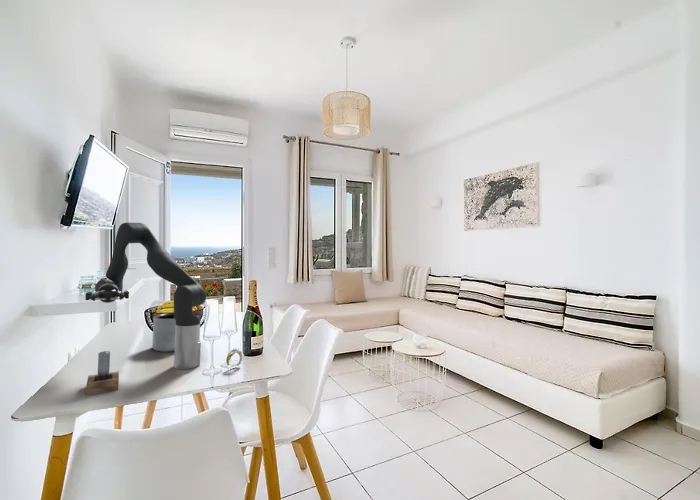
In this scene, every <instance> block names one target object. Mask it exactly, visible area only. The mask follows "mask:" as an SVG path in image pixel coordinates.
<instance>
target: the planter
mask: <svg viewBox="0 0 700 500" xmlns="http://www.w3.org/2000/svg"><path fill="white" fill-rule="evenodd" d="M175 326H176V321H175V318H174V312H166V313H165V312H164V313H159V314H156V315H154V316H153V325H152V327H153V328H152V342H151V343H152V345H151V347H152V349H153V350H154V351H156V352H161V353H162V352H163V353H165V352H166V353H167V352H174V351H175Z"/></svg>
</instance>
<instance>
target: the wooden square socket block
mask: <svg viewBox="0 0 700 500" xmlns="http://www.w3.org/2000/svg"><path fill="white" fill-rule="evenodd" d="M119 372H120V371H113V372H112V371H111V372H110V371H109V379H106V380H100V381H97V378H98V373H95V374H91V375H88V376H87V381H86V390H85V391H86V392H85V396H91V395H95V394H100V393H107V392H113V391H119V385H120V383H119V382H120V381H119V380H120V378H119V377H120V376H119V375H120V373H119Z"/></svg>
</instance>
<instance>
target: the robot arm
mask: <svg viewBox="0 0 700 500" xmlns="http://www.w3.org/2000/svg"><path fill="white" fill-rule="evenodd" d="M129 244H140V245H141V246H143V247H144V248H145V250H146V251H147V253H146V262H147V265H148V266H149V268H151V270H152V271H153V272H154V273H155V274H156V275H157V276H158V277H159V278H161V279H163V280H165V281H167V282H169V283H170V284H173V285H175V286H176V289H175V290H174V294H173V313H174V318H175V321H176V326H175V351H173V352H174V356H173V359H174V360H173V368H175V369H177V370H188V369H194V368H196V367H200V366H201V348H202V347H201V343H202V342H201V340H200V339H201V337H200V336H201V316H200V315H199V314H198V315H197V314H194V313H193V311H194V310H193V308H194V307H199V306H201V305H203V304H204V303H205V302H206V299H207V293H206V290H205V289H204V287H203V286H202V285H201V284H200V283H199V282H198V281H197V280H195V279H194V278H193V277H192V276H190V274H188V273H187V272H186V270H185V269H183V267H182V266H181V265H180V264H179V263H178V262H177V260H175V258H174V257H173V256H172V255H171V254H170V253H169V252H168V251H167V250H166V249H165V247H164V246H163V245H162V244H161V243H160V241H158V239H157V238H156V236H155V235H154V233H153V232H152V231H151V229H150V228H149V227H148V226H147V224H145V223H142V222H123V223H120V225H119V227H118V229H117V232H116V236H115V241H114V246H113V250H112V251H113V252H112V256H111V260H110V262H109V265H108V267H107V270H106V272H105V277H106V279H104V278H103V279H100V280H98V281H97V282H96V284H95V288H94V291H95V292H94V293H93V291H87V292H86V293H85V297H84V298H85V301H89V300H90V301H93V302H95V301H100V302H102V303H105V304H106V303H107V304H108V303H112V302H115V301H116V300H117V301H118V300H120V301H122V300H124V298H125V299H126V300H128V299H130V292H129V290H124V291H123V289H124V288H123V287H124V286H123V285H124V283H123V282H124V277H125V276H126V273H127V270H128V267H129V260H128V256H127V253H126V249H127V248H128V245H129Z"/></svg>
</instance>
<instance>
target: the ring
mask: <svg viewBox="0 0 700 500" xmlns="http://www.w3.org/2000/svg"><path fill="white" fill-rule="evenodd" d="M235 354H237V355H238V356H239V360H238V363H237V364H236V365H237V366H238V367H239V366H240V365H241V364H242V361H243V357H244V355H243V353H242V351H240V349H239V348H236V347H235V348H232V349H231V350H230V351H229V352H228V353H227V356H226V360H225V363H226V366H228V365H230V366H231V364H230V360H231V358H232V357H233V356H234V355H235Z"/></svg>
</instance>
